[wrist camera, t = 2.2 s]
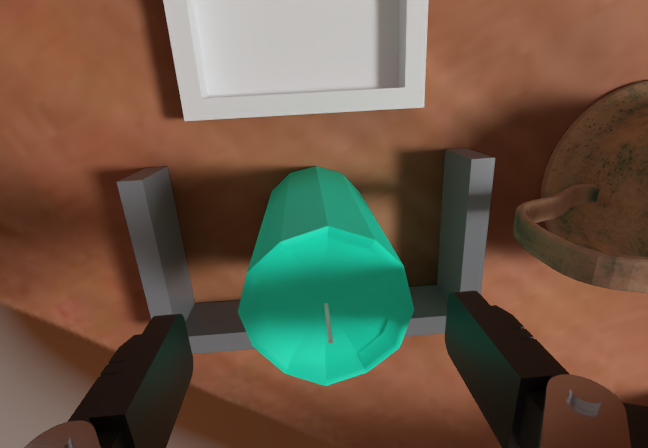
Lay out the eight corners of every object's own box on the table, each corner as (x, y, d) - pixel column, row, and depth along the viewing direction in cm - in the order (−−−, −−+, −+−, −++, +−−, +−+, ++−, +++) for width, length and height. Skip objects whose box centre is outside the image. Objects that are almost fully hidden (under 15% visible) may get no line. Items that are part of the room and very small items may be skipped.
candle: (361, 259, 23) (419, 414, 12) (267, 260, 23) (235, 421, 12) (366, 166, 21) (441, 247, 10) (263, 165, 21) (219, 250, 10)
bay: (465, 147, 21) (495, 157, 18) (453, 299, 25) (476, 330, 21) (146, 167, 20) (116, 181, 17) (179, 320, 24) (160, 356, 21)
